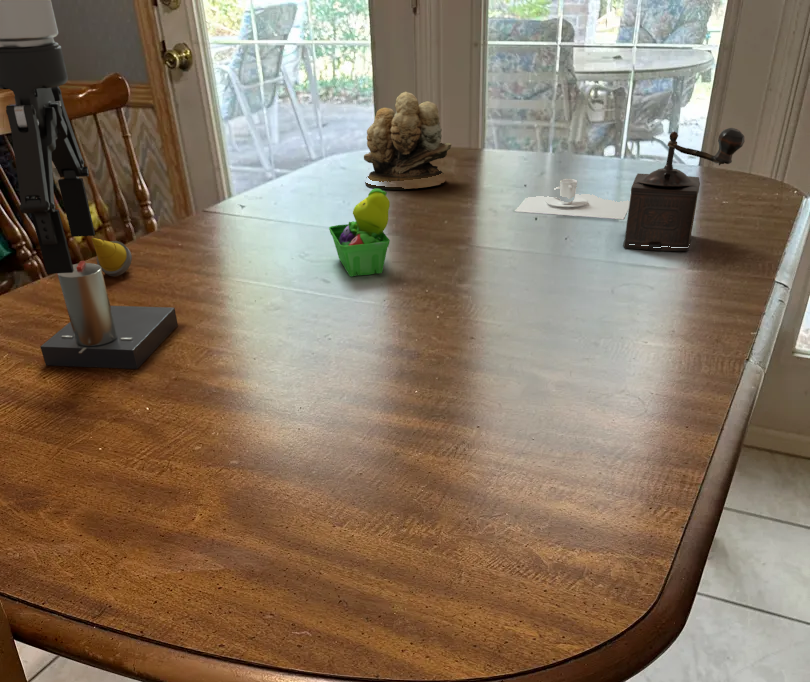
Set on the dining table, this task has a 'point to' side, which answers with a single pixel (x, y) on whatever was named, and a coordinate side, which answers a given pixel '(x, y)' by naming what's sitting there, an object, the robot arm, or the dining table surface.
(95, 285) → the shiny metal cylinder
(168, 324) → the dial base
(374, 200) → the fruit basket
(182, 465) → the dining table surface
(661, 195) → the manual coffee grinder
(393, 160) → the owl figurine
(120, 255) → the yellow ridged cone
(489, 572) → the dining table surface
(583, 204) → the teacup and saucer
